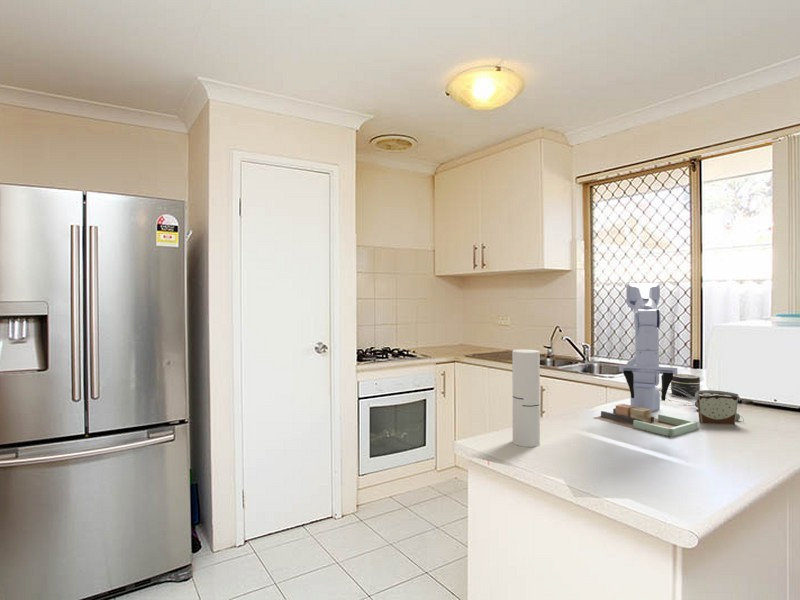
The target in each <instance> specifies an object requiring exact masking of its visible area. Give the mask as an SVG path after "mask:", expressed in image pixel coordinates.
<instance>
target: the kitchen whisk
mask: <svg viewBox="0 0 800 600" xmlns="http://www.w3.org/2000/svg"><path fill="white" fill-rule="evenodd" d="M674 387H675V386H674ZM669 389H670V391H671V390H673V389H671V384H670V385H669ZM679 389H680V388H679ZM658 390H659V392H660V398H661V394H662V389H658ZM675 390H676V389H675ZM681 390H682V389H681ZM676 391H678V390H676ZM679 392H680V391H679ZM684 392H685V391H684ZM681 393H683V392H681ZM683 394H685V393H683ZM687 394H688V393H687ZM687 394H686V396H687ZM666 395H669V396H673V397H675V398H678V399H681V400H683V401H687V402H686V404H685V402H682V401H680V403H681V404H683V405H682V406H685V407H689V406H690V407H695V408H697V409H698V405H697V400H695V399H694V398H695V397H689V395H688V397H687V398H690V399H691V400H690V399H687V398H685V397H682V396H676V395H674V394H673V393H670V392H668V391H667V393H666ZM690 396H691V395H690ZM665 400H668V401H670V399H669V398H667V397H665ZM692 400H694V401H692ZM672 401H673V402H674V400H673V399H671V402H672ZM675 402H677V403H679V401H676V400H675ZM691 403H692V404H691ZM741 418H742V421H740V419H741ZM736 420H738V421H740V422H744V421H745V419H744V418H743V416H741V415H740V414H739V413H738V412H737V413H736Z"/></svg>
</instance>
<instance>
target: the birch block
mask: <svg viewBox="0 0 800 600" xmlns="http://www.w3.org/2000/svg"><path fill="white" fill-rule="evenodd" d="M651 416H652V412H651V410H650V409H645V408H641V407H636V408H631V418H635V419H639V420H642V422H646V423H651Z"/></svg>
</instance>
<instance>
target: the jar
mask: <svg viewBox="0 0 800 600" xmlns="http://www.w3.org/2000/svg"><path fill="white" fill-rule="evenodd" d="M674 386H675V387H674ZM670 387H671V388H670V391H671V394H673V396H675V395H677V396H676V397H678V396H679V397H682V396H683V397H682V398H691V397H692V398H693V397H694V398H695V394H696V392H697V391H701V377H700V376H699V375H695V374H686V373H677V375H673V379H672V381H671V383H670ZM679 388H680V389H679ZM671 389H673V390H671ZM675 389H676V390H678V391H676V390H675ZM681 389H682V390H681ZM679 391H680V392H679ZM684 391H685V392H684ZM681 392H683V393H685V394H683V393H681ZM687 393H688V394H687ZM686 394H687V396H686ZM688 395H689V397H688ZM690 395H691V396H690Z"/></svg>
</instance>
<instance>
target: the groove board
mask: <svg viewBox="0 0 800 600" xmlns="http://www.w3.org/2000/svg"><path fill="white" fill-rule="evenodd" d="M612 412H613V413H612ZM612 412H610V411H609V412H608V411H605V410H601V411H600V415H599V416H596V417H593V419H594V420H599V421H603V422H607V423H609V424H610V423H611V424H615V425H619V426H622V427H626V428H629V429H633V430H638V431H642V432H647V433H648V434H649V433H650V434H653V435H654V434H655V435H658V436H662V437H665V438H669V439H670V438H671V437H670V436H666V435H662V434H658V433H654V432H650V431H646V430H642V429H638V428H634V427H633V420H637V421H642V420H639V419H635V418H631V417H626V416H622V415H618V414H616V407H615V408H613V409H612ZM650 424H654V425H658V426H663V427H667V428H672V427H676V426H679V425H674V424H670V423H665V422H661V421H658V418H655V417H654V416H652V415H651V423H650ZM699 429H700V428H699V427H698V429H696V430H699ZM696 430H695V431H696ZM690 432H691V431H689V432H686V433H690ZM686 433H685V434H686ZM680 435H681V434H679V435H676V436H680ZM676 436H675V437H676Z"/></svg>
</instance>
